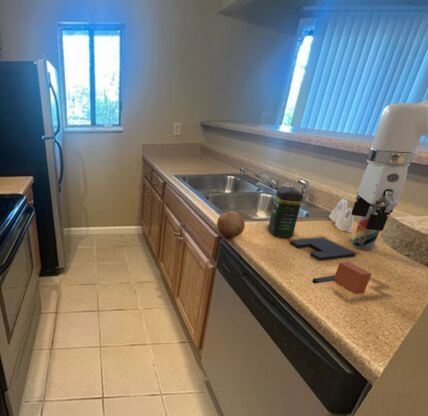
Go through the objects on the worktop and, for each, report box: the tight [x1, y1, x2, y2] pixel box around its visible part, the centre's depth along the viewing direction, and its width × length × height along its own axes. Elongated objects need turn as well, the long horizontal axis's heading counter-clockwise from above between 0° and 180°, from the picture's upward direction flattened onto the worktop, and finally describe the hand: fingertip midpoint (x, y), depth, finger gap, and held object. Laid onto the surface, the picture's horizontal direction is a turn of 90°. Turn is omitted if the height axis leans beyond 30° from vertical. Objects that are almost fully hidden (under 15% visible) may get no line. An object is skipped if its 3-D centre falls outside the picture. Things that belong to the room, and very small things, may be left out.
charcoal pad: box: [289, 236, 357, 262], centre depth 96 cm, size 14×12×1 cm
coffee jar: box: [267, 185, 304, 239], centre depth 105 cm, size 10×8×19 cm
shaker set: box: [328, 198, 355, 233], centre depth 112 cm, size 12×4×11 cm, turn 162°
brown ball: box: [216, 211, 246, 238], centre depth 105 cm, size 10×10×10 cm
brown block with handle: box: [311, 260, 372, 295], centre depth 75 cm, size 16×10×7 cm, turn 100°
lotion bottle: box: [351, 202, 384, 251], centre depth 94 cm, size 6×6×20 cm
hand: (365, 222), depth 72 cm, fingers open, 9 cm apart
